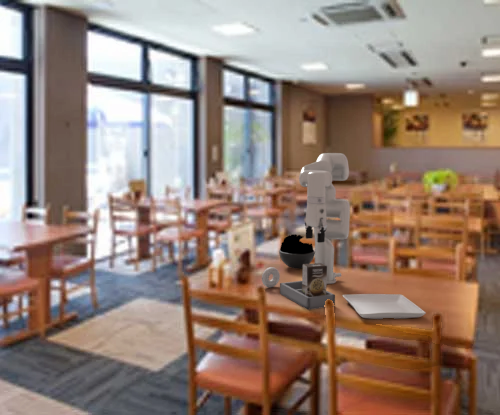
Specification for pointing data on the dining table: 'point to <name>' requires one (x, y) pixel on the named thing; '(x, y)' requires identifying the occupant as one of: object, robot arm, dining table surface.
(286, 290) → the caddy
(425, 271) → the dining table surface
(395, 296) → the square plate
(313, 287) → the coffee box
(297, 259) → the bowl of black rocks
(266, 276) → the donut
